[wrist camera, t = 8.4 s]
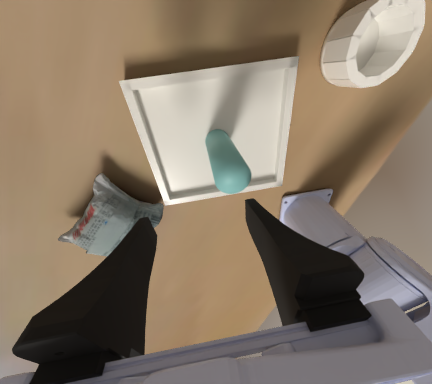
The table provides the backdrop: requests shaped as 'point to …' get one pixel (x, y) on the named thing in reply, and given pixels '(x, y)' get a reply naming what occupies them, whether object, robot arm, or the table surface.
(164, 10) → the table surface
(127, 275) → the robot arm
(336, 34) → the bowl
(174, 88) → the tray
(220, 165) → the dowel
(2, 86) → the table surface
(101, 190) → the packaged food
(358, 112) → the table surface
